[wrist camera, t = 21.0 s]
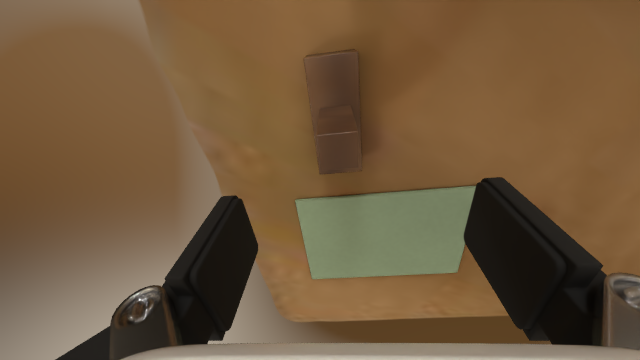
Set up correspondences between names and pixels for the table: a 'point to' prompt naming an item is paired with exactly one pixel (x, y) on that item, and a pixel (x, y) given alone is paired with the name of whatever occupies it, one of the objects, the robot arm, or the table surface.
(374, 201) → the desk pad
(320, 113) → the brown t-shaped block
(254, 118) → the table surface
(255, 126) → the table surface
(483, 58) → the table surface
